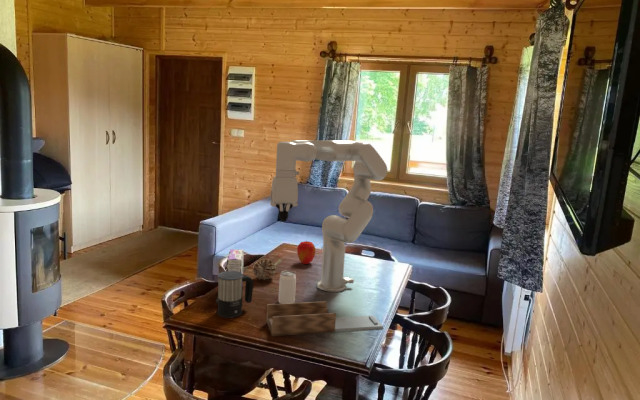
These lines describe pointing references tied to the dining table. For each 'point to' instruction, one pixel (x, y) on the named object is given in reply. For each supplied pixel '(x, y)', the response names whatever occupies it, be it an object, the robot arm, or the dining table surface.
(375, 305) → the dining table surface
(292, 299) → the can
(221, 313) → the milk frother
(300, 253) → the apple
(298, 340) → the dining table surface
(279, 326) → the walnut box
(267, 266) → the pine cone
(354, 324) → the cover plate
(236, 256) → the candy box
